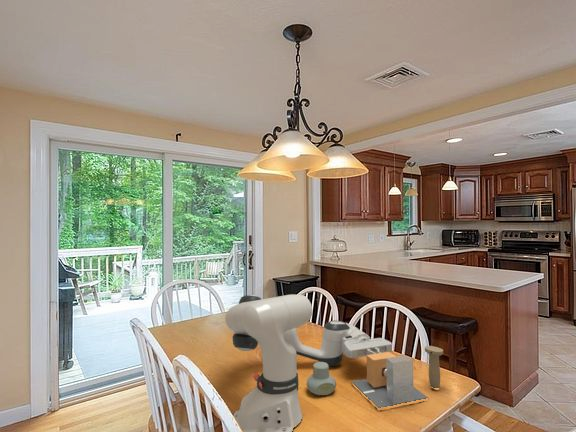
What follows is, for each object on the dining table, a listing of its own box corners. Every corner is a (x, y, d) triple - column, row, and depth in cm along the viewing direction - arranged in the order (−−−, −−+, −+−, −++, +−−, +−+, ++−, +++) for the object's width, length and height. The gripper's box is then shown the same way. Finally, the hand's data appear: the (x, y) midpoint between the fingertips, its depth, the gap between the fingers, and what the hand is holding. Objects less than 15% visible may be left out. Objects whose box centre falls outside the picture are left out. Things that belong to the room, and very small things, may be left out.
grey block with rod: (393, 404, 111) (393, 363, 111) (369, 383, 126) (368, 346, 126) (413, 400, 113) (412, 359, 114) (387, 380, 128) (386, 344, 129)
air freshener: (311, 399, 117) (311, 371, 117) (303, 388, 125) (303, 362, 125) (339, 394, 120) (338, 367, 120) (330, 384, 128) (329, 358, 128)
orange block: (374, 387, 121) (373, 360, 121) (367, 381, 126) (366, 355, 126) (397, 383, 124) (396, 356, 124) (389, 377, 129) (389, 351, 129)
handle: (428, 383, 127) (428, 344, 128) (446, 389, 123) (445, 349, 123) (423, 388, 124) (422, 348, 124) (440, 394, 119) (440, 353, 120)
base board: (378, 411, 109) (378, 407, 109) (351, 384, 128) (351, 381, 128) (428, 400, 115) (428, 397, 115) (395, 376, 133) (395, 373, 133)
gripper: (381, 346, 144) (401, 360, 131) (339, 353, 138) (355, 368, 125) (381, 332, 144) (401, 344, 131) (339, 338, 138) (355, 351, 125)
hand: (378, 355), depth 128 cm, fingers closed
